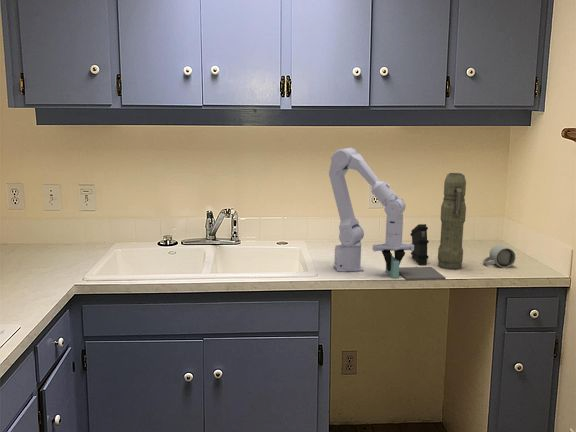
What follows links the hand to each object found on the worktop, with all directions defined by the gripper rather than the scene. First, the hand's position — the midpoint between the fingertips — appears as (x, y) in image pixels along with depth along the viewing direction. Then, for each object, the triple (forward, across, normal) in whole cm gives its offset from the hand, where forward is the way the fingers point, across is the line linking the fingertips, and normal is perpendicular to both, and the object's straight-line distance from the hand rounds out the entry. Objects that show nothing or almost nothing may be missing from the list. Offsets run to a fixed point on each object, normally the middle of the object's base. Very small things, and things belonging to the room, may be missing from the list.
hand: (392, 270), depth 205 cm
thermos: (+2, +25, +9) cm, 27 cm away
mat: (+2, +10, 0) cm, 10 cm away
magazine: (+2, +16, +18) cm, 24 cm away
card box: (+2, 0, 0) cm, 2 cm away
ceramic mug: (+2, +44, +9) cm, 45 cm away
